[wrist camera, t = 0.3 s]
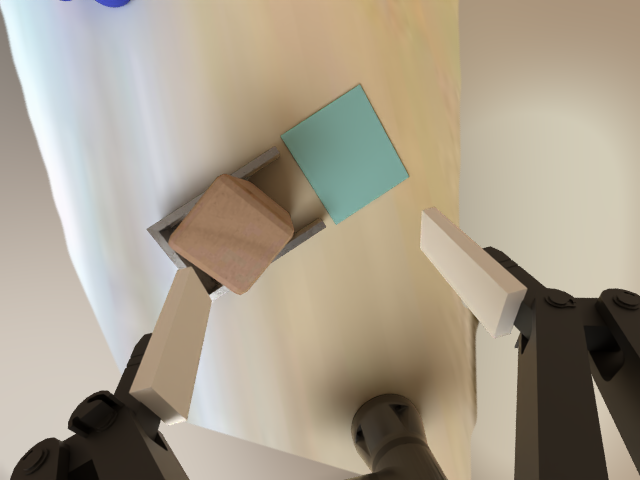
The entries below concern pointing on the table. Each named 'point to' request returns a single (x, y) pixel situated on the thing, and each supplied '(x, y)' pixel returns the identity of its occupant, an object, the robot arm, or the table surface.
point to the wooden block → (233, 232)
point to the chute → (164, 227)
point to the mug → (111, 2)
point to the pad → (345, 154)
